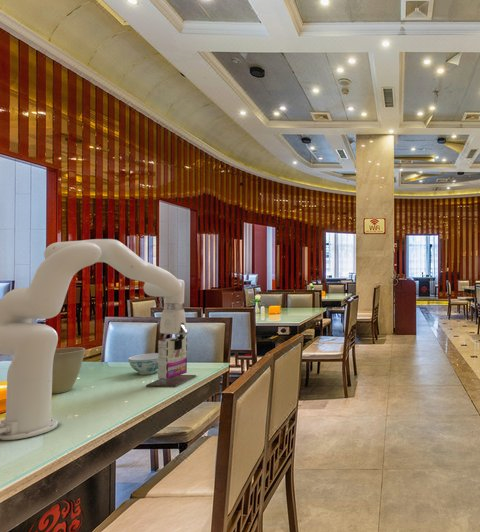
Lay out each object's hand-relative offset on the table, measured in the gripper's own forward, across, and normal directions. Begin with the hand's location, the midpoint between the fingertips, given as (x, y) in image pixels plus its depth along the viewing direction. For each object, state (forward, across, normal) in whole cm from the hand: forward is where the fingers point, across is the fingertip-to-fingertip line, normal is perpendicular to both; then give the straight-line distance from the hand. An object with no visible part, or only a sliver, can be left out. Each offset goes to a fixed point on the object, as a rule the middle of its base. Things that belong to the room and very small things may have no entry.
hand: (172, 348), depth 162 cm
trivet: (+14, 0, 0) cm, 14 cm away
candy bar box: (+12, 0, 0) cm, 12 cm away
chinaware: (+14, -24, +7) cm, 28 cm away
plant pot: (+15, -30, -25) cm, 41 cm away
